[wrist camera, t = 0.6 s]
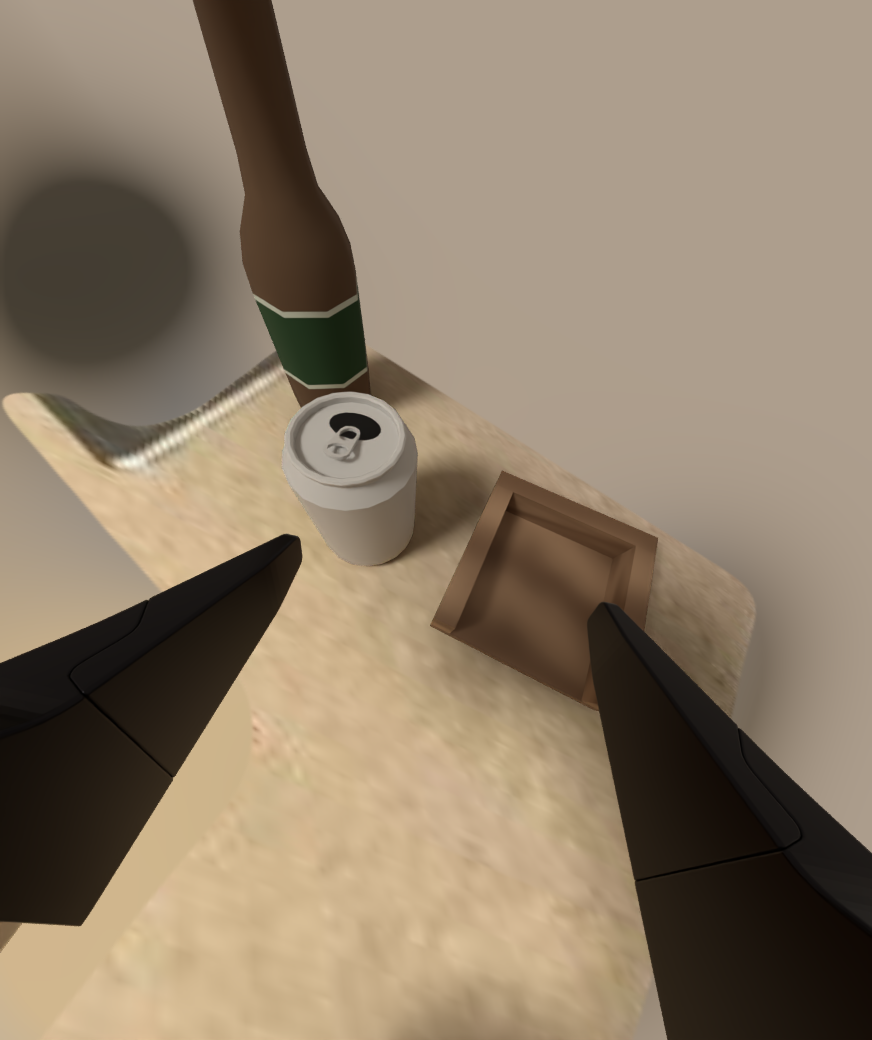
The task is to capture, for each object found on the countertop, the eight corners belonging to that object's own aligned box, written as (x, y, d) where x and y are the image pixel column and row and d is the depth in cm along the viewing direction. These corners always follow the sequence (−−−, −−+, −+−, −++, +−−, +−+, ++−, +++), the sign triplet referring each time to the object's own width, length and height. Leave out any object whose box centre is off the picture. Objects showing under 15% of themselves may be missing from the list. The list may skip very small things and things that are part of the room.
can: (424, 503, 28) (435, 400, 17) (398, 581, 25) (390, 512, 14) (346, 480, 29) (310, 366, 18) (310, 554, 25) (237, 468, 14)
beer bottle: (359, 435, 31) (248, -102, 9) (285, 415, 31) (14, -147, 10) (384, 383, 34) (344, -98, 13) (317, 366, 35) (169, -132, 13)
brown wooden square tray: (594, 710, 22) (630, 718, 18) (430, 625, 24) (433, 617, 20) (625, 555, 28) (658, 538, 24) (490, 495, 29) (502, 470, 26)
